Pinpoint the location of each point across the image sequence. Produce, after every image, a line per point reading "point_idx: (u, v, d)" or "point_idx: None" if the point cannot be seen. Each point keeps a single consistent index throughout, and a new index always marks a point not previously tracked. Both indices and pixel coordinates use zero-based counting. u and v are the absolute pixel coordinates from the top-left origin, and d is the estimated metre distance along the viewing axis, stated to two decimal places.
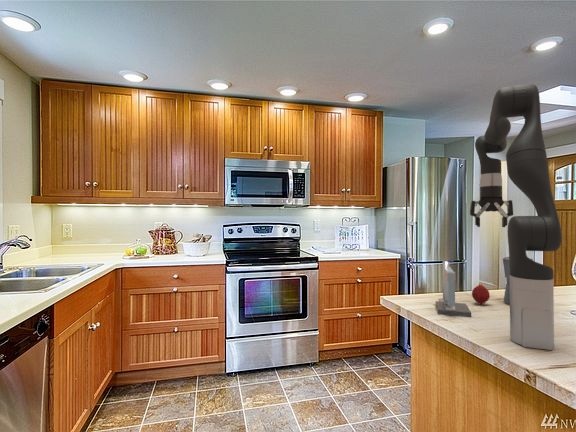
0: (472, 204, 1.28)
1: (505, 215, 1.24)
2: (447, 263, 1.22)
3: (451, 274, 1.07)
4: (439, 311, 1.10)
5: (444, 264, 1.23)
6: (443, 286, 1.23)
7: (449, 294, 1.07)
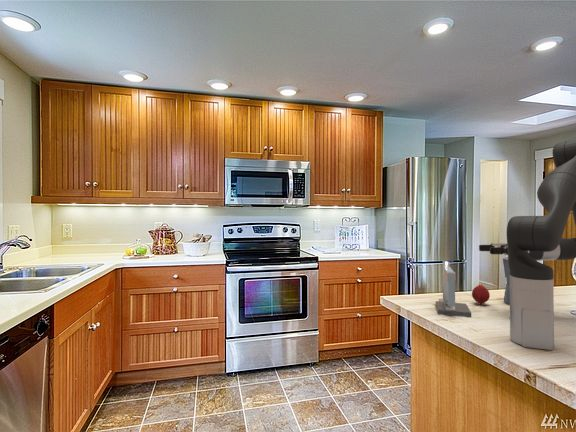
0: None
1: (505, 247, 1.04)
2: (447, 263, 1.22)
3: (451, 274, 1.07)
4: (439, 311, 1.10)
5: (444, 264, 1.23)
6: (443, 286, 1.23)
7: (449, 294, 1.07)
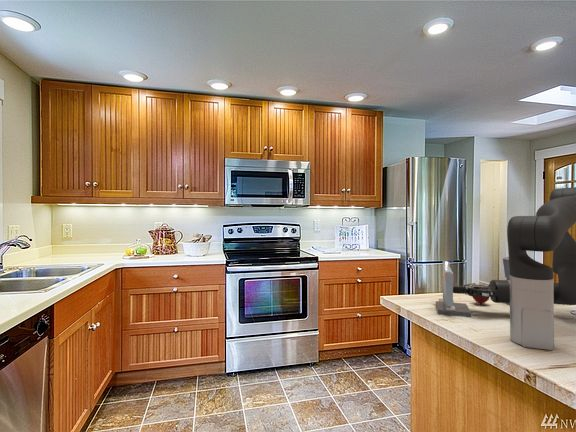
0: (471, 284, 1.15)
1: (467, 286, 1.10)
2: (447, 263, 1.22)
3: (449, 274, 1.07)
4: (439, 311, 1.10)
5: (444, 264, 1.23)
6: (443, 286, 1.23)
7: (447, 294, 1.07)
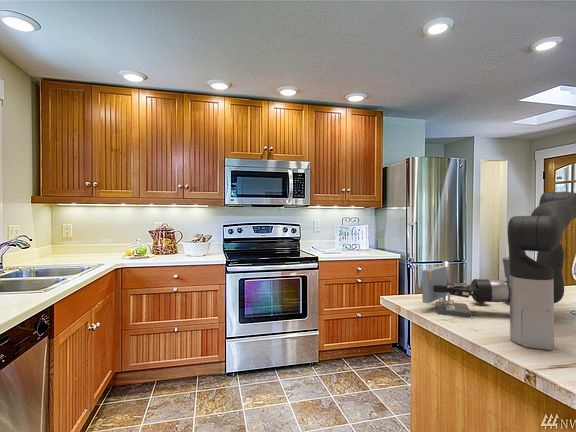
0: (454, 283, 1.16)
1: (448, 286, 1.11)
2: (447, 263, 1.22)
3: (425, 272, 1.11)
4: (439, 311, 1.10)
5: (444, 264, 1.23)
6: None
7: (423, 291, 1.12)
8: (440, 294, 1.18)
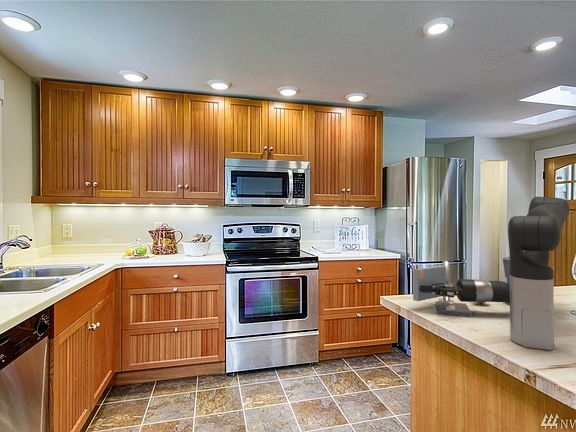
0: (440, 283, 1.17)
1: (434, 286, 1.12)
2: (447, 263, 1.22)
3: (415, 270, 1.14)
4: (439, 311, 1.10)
5: (444, 264, 1.23)
6: None
7: (413, 289, 1.15)
8: None
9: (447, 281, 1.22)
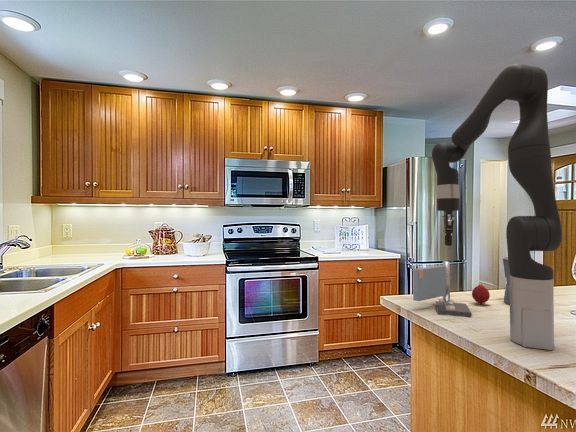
0: None
1: None
2: (447, 263, 1.22)
3: (415, 270, 1.14)
4: (439, 311, 1.10)
5: (444, 264, 1.23)
6: None
7: (413, 289, 1.15)
8: (436, 293, 1.19)
9: (447, 281, 1.22)
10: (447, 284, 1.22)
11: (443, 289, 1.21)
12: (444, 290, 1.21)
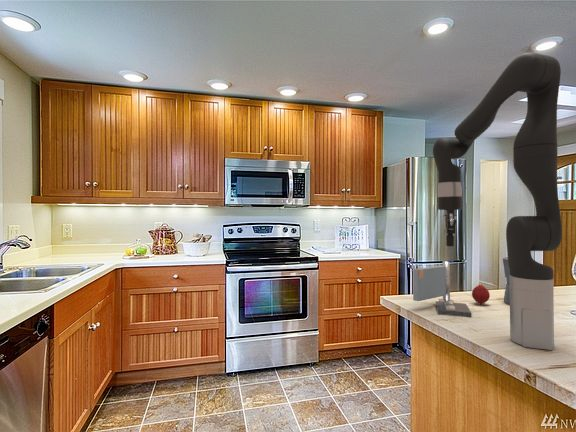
0: None
1: None
2: (447, 263, 1.22)
3: (415, 270, 1.14)
4: (439, 311, 1.10)
5: (444, 264, 1.23)
6: None
7: (413, 289, 1.15)
8: (436, 293, 1.19)
9: (447, 281, 1.22)
10: (447, 284, 1.22)
11: (443, 289, 1.21)
12: (444, 290, 1.21)
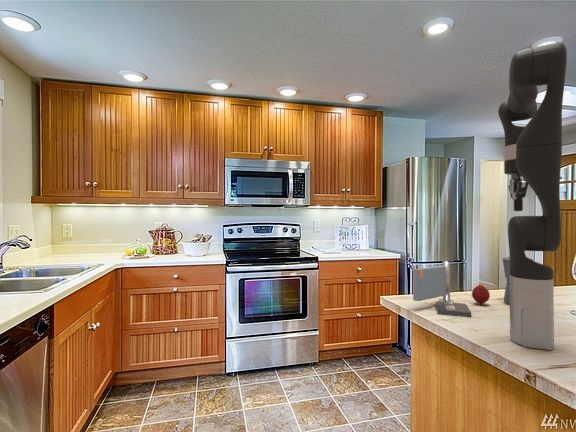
0: None
1: None
2: (447, 263, 1.22)
3: (415, 270, 1.14)
4: (439, 311, 1.10)
5: (444, 264, 1.23)
6: None
7: (413, 289, 1.15)
8: (436, 293, 1.19)
9: (447, 281, 1.22)
10: (447, 284, 1.22)
11: (443, 289, 1.21)
12: (444, 290, 1.21)
